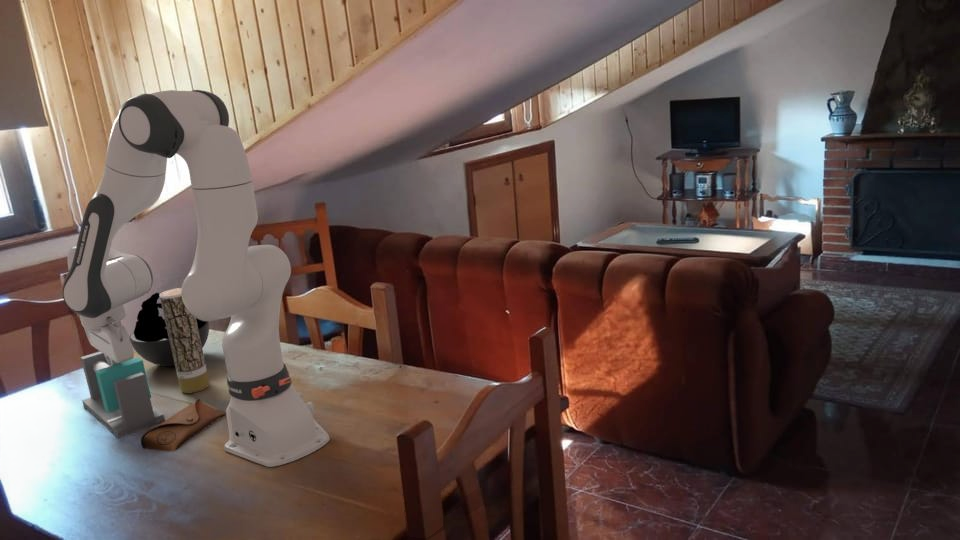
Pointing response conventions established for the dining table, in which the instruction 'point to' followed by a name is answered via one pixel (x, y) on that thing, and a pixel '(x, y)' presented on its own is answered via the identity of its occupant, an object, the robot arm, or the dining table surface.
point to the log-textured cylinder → (184, 342)
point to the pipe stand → (120, 399)
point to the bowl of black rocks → (157, 334)
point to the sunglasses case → (180, 427)
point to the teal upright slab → (116, 373)
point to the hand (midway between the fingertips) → (116, 371)
